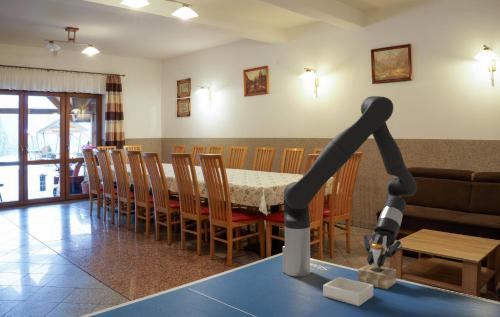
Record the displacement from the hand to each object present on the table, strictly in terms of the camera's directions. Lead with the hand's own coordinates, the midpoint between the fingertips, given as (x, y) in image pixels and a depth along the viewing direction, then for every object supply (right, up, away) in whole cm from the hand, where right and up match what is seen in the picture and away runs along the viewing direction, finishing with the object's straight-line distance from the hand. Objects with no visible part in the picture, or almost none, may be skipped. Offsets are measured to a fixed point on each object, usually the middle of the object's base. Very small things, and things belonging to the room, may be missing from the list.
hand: (374, 264), depth 140 cm
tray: (-11, -7, -10) cm, 16 cm away
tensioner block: (+2, -7, +2) cm, 7 cm away
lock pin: (+1, -6, +2) cm, 6 cm away
